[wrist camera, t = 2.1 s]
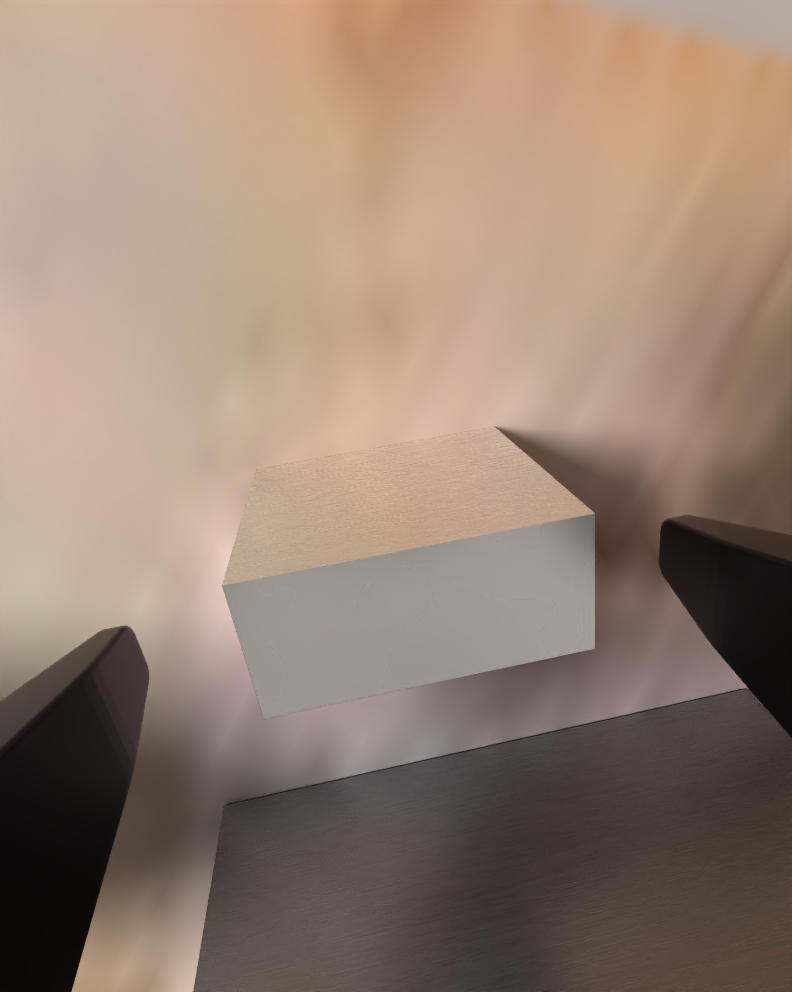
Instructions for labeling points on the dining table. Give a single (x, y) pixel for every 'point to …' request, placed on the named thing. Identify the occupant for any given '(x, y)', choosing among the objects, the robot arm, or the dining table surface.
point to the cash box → (523, 867)
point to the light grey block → (407, 570)
